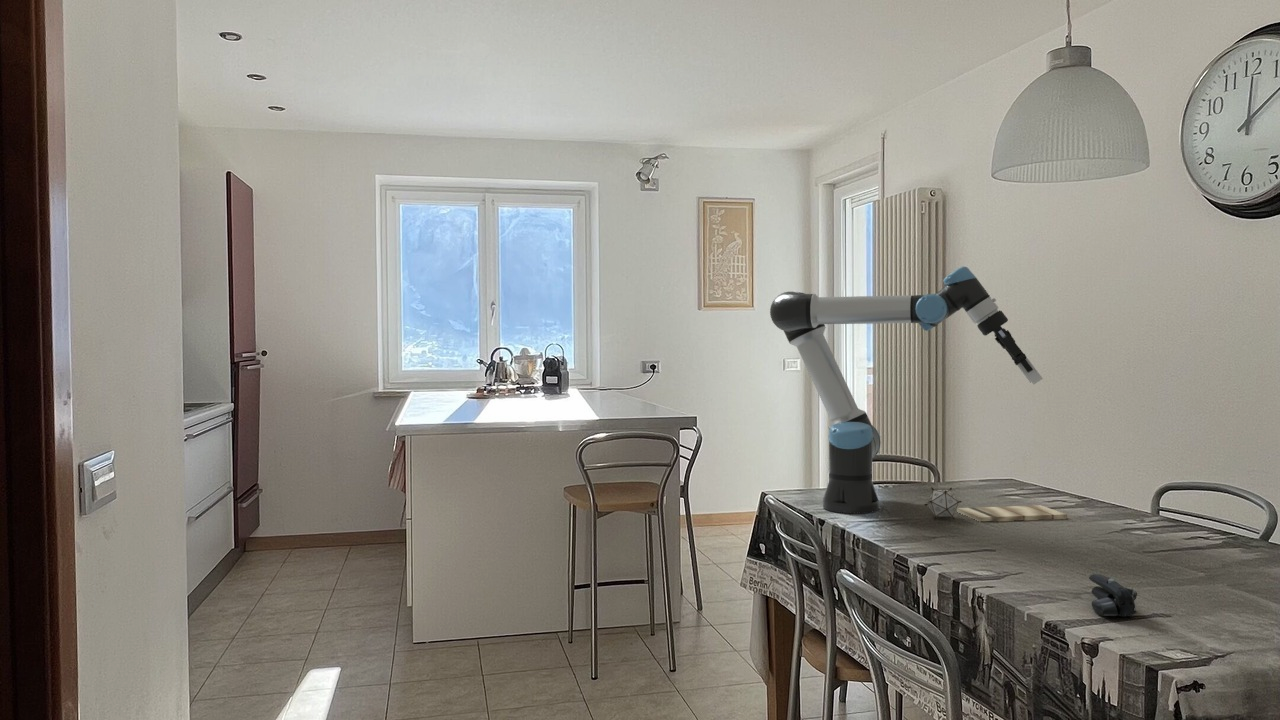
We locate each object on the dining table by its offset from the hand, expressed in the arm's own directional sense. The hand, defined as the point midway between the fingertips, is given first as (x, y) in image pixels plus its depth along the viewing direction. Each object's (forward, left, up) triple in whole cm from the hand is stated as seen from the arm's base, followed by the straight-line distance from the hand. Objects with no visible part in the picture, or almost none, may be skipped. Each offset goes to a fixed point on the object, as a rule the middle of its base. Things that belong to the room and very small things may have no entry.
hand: (1036, 380), depth 234 cm
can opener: (-34, -77, -36) cm, 92 cm away
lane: (-10, -4, -35) cm, 37 cm away
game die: (-29, -4, -36) cm, 46 cm away
